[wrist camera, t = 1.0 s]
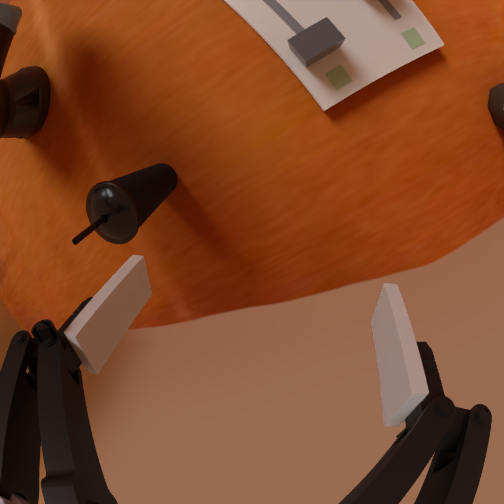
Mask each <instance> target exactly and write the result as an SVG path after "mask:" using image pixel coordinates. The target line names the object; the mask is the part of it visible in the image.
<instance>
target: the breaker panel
mask: <svg viewBox="0 0 504 504" xmlns="http://www.w3.org/2000/svg"><path fill="white" fill-rule="evenodd" d="M223 1H224V2H226V3H227V4H228V5H229V6H230V7H231V8H232V9H233V10H234V11H235V12H237V13H238V14H239V15H240V16H241V17H242V18H243V19H244V20H245V21H246V22H247V23H248V24H249V25H250V26H251V27H252V28H253V29H254V30H255V31H256V32H257V33H258V34H259V35H260V36H261V37H262V38H263V39H264V40H265V41H266V42H267V44H268V45H269V46H270V47H271V48H272V49H273V50H274V51H275V52H276V53H277V55H278V56H279V57H280V58H281V59H282V60H283V61H284V62H285V64H286V65H287V66H288V67H289V68H290V69H291V71H292V72H293V73H294V74H295V75H296V77H297V78H298V79H299V80H300V82H301V83H302V84H303V85H304V87H305V88H306V89H307V90H308V92H309V93H310V94H311V96H312V97H313V98H314V99H315V101H316V102H317V103H318V105H319V106H320V107H321V109H322V110H323V111H325V110H327V109H328V108H330V107H331V106H333V105H335V104H336V103H338V102H340V101H341V100H343V99H344V98H346V97H348V96H349V95H351V94H353V93H355V92H356V91H358V90H360V89H361V88H363V87H365V86H367V85H368V84H370V83H372V82H374V81H375V80H377V79H379V78H381V77H383V76H384V75H386V74H388V73H390V72H392V71H394V70H395V69H397V68H399V67H401V66H403V65H405V64H407V63H409V62H411V61H413V60H415V59H417V58H419V57H421V56H423V55H425V54H427V53H429V52H431V51H433V50H435V49H437V48H439V47H442V46H444V43H443V42H442V40H441V39H440V37H439V36H438V34H437V33H436V31H435V30H434V28H433V27H432V25H431V24H430V23H429V21H428V20H427V19H426V17H425V16H424V15H423V13H422V12H421V11H420V9H419V8H418V7H417V6H416V4H415V3H414V2H413V1H412V0H223ZM326 17H327V18H328V19H329V20H330V21H331V22H332V23H333V24H334V25H335V27H336V28H337V29H338V30H339V31H340V32H341V33H342V35H343V36H344V37H345V38H346V39H345V41H344V42H343V44H342V45H341V47H340V48H338V49H337V50H335V51H333V52H331V53H330V54H328V55H326V56H324V57H323V58H321V59H319V60H318V61H316V62H315V63H313V64H311V65H310V66H308V67H307V68H306V67H305V66H304V65H303V63H302V62H301V61H300V60H299V59H298V58H297V56H296V55H295V54H294V53H293V52H292V51H291V50H290V47H289V44H288V41H287V40H288V39H290V38H291V37H293V36H295V35H296V34H298V33H300V32H301V31H303V30H305V29H306V28H308V27H310V26H311V25H313V24H315V23H317V22H318V21H320V20H322V19H324V18H326Z"/></svg>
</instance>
